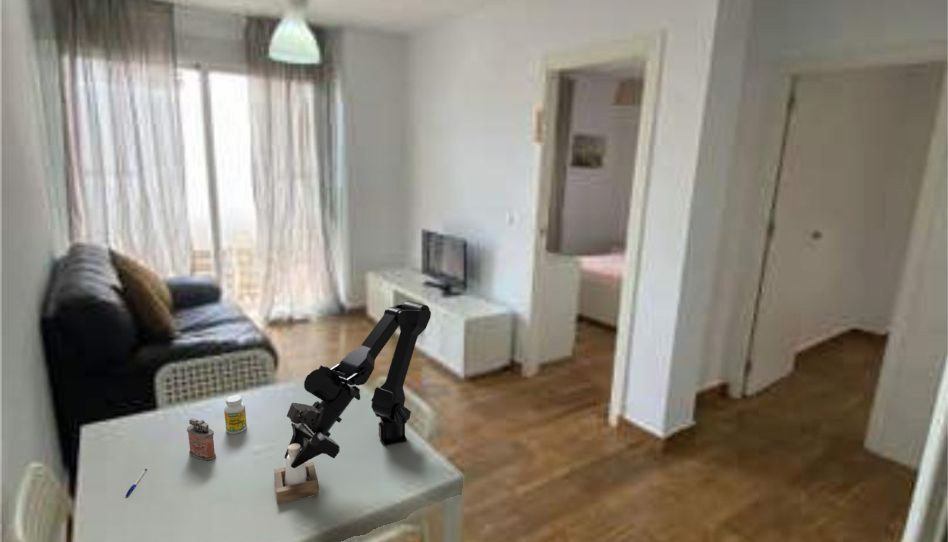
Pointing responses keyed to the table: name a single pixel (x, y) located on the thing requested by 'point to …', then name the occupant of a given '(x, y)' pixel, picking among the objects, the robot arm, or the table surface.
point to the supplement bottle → (235, 415)
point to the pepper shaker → (297, 473)
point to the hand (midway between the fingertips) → (289, 463)
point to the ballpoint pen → (135, 484)
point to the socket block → (296, 485)
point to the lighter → (201, 441)
